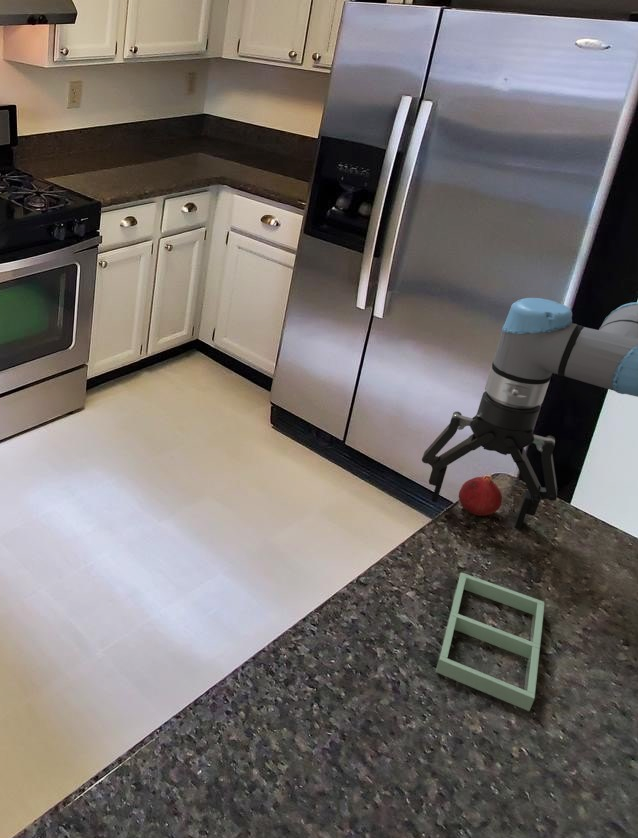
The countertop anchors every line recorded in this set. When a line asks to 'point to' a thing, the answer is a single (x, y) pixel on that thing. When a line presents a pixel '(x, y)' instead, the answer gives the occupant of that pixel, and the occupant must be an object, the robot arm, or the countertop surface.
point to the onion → (480, 496)
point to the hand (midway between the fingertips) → (474, 514)
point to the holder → (494, 641)
